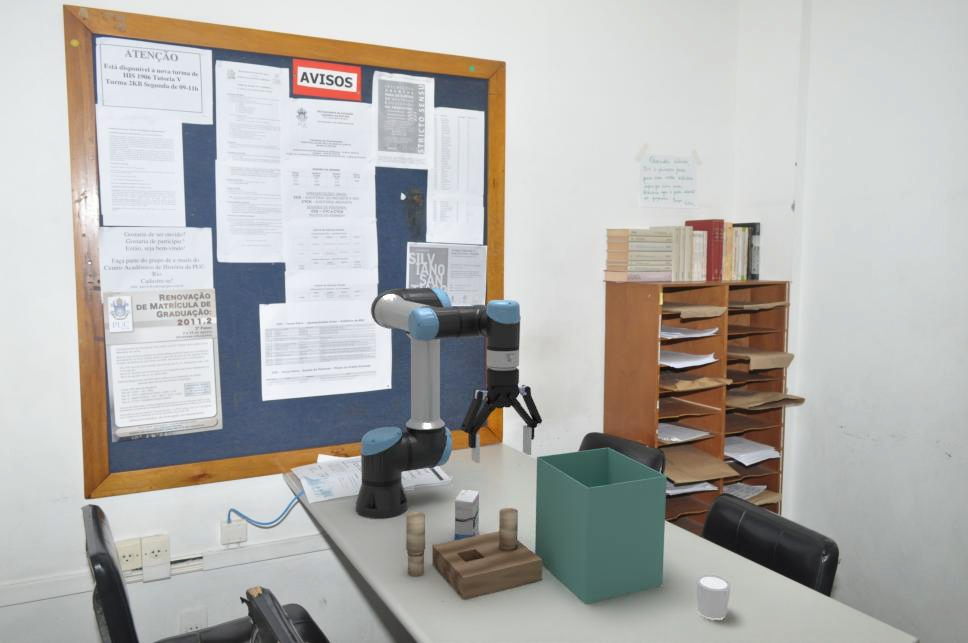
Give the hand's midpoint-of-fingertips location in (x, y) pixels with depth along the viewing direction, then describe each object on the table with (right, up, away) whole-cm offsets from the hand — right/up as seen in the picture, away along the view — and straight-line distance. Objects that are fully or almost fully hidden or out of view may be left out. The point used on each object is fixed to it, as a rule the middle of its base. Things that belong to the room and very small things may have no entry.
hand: (501, 457), depth 156 cm
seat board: (-4, -28, +3) cm, 28 cm away
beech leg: (-20, -28, +2) cm, 34 cm away
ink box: (-9, -26, +21) cm, 35 cm away
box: (+23, -28, +4) cm, 36 cm away
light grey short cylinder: (+44, -30, -15) cm, 56 cm away
